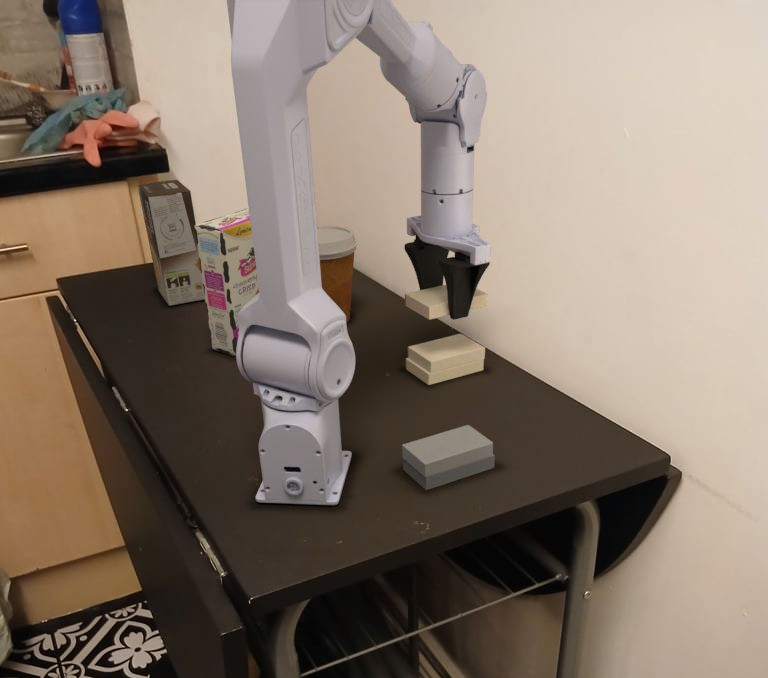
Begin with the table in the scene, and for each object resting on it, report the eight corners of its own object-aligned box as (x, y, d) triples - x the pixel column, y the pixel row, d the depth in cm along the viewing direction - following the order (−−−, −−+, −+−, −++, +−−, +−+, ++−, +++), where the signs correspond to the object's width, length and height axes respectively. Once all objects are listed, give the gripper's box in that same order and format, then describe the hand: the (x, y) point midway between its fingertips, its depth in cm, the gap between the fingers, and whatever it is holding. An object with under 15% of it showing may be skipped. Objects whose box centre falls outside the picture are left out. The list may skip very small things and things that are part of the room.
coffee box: (209, 299, 122) (192, 190, 113) (168, 307, 120) (147, 196, 111) (195, 282, 129) (177, 178, 120) (156, 289, 127) (135, 183, 118)
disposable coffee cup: (336, 336, 108) (331, 248, 102) (281, 324, 113) (272, 239, 106) (373, 314, 115) (370, 229, 108) (320, 303, 119) (313, 221, 112)
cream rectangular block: (461, 292, 97) (461, 280, 96) (487, 306, 93) (487, 293, 92) (404, 305, 94) (404, 293, 93) (429, 319, 90) (429, 307, 89)
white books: (459, 355, 102) (460, 332, 100) (484, 370, 98) (485, 347, 96) (405, 369, 99) (405, 346, 97) (428, 385, 95) (428, 362, 93)
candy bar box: (239, 358, 103) (220, 230, 94) (211, 350, 106) (190, 224, 96) (293, 330, 111) (281, 208, 101) (266, 323, 113) (252, 204, 104)
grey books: (469, 448, 82) (470, 423, 81) (494, 467, 79) (496, 441, 77) (401, 470, 79) (401, 444, 77) (425, 491, 76) (425, 464, 74)
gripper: (516, 196, 82) (509, 321, 90) (442, 172, 93) (441, 286, 101) (460, 206, 80) (457, 334, 88) (390, 180, 90) (393, 296, 98)
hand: (445, 309), depth 94 cm, fingers closed on cream rectangular block, 5 cm apart
